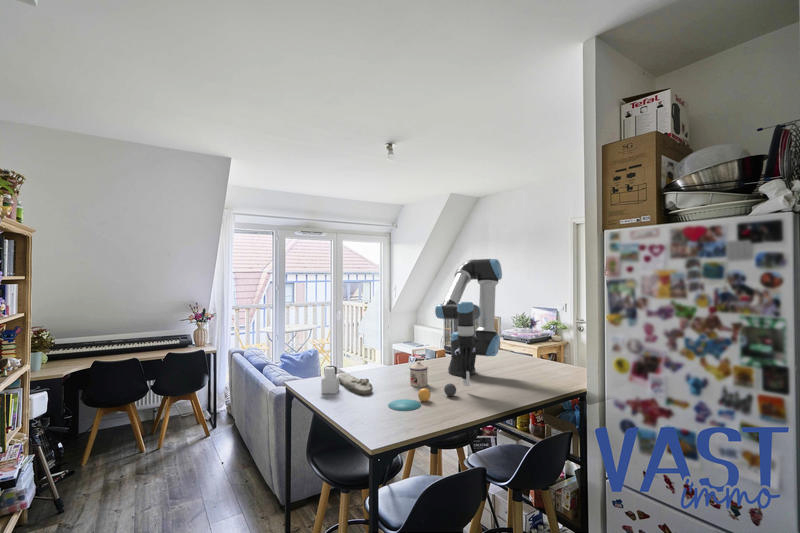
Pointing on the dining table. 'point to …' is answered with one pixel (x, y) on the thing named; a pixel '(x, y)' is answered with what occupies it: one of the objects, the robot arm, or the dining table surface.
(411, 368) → the teacup with lid
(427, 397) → the object ball
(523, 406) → the dining table surface
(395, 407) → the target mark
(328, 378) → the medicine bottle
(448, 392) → the dark grey ball
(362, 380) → the long grey stone
